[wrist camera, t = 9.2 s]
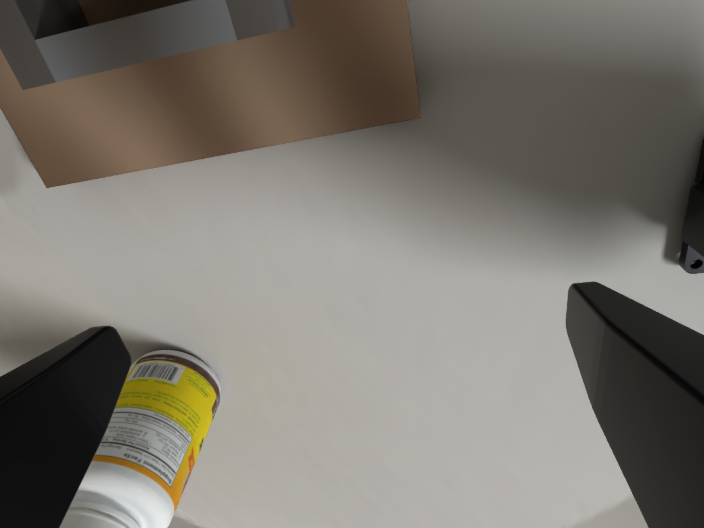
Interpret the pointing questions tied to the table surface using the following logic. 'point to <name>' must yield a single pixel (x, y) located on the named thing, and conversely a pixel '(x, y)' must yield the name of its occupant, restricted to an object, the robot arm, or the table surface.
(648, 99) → the table surface
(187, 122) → the collar socket
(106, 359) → the robot arm
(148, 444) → the supplement bottle
